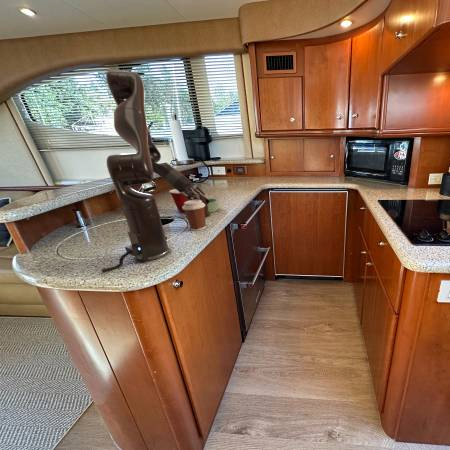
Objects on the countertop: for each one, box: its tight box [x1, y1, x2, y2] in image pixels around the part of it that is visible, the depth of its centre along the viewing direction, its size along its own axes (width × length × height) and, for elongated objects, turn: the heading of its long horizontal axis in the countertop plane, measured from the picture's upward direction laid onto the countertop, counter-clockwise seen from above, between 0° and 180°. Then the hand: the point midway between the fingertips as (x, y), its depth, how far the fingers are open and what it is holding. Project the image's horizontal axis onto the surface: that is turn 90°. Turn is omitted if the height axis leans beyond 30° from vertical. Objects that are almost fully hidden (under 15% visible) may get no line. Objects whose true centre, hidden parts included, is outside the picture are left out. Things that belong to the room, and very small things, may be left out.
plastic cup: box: [168, 188, 190, 213], centre depth 131 cm, size 11×11×12 cm
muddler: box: [199, 195, 211, 218], centre depth 119 cm, size 4×4×10 cm
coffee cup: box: [182, 200, 207, 232], centre depth 103 cm, size 9×9×12 cm
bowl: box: [207, 197, 220, 214], centre depth 130 cm, size 13×13×6 cm
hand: (207, 203), depth 119 cm, fingers closed on muddler, 4 cm apart
